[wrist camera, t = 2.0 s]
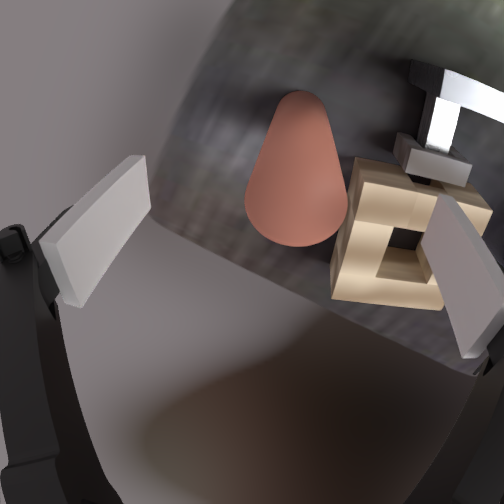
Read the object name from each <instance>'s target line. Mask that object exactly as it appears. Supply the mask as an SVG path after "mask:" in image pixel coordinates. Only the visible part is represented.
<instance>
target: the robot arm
mask: <svg viewBox="0 0 504 504" xmlns="http://www.w3.org/2000/svg"><path fill="white" fill-rule="evenodd" d="M150 209H151V204H150V196H149V188H148V179H147V170H146V160H145V155H130V156H128V157H127V158H126V159H125V160H124V161H122V162H121V163H120V164H119V165H118V166H117V167H116V168H114V169H113V170H112V171H111V172H110V173H108V174H107V175H106V176H105V177H104V178H103V179H102V180H101V181H99V182H98V183H97V184H96V185H95V186H94V187H93V188H92V189H91V190H89V191H88V192H87V193H86V194H85V195H84V196H83V197H82V198H81V199H80V200H79V201H78V202H77V203H75V205H72V206H71V207H69V208H67V209H66V210H64V211H63V212H62V213H61V214H60V215H59V216H58V217H57V218H56V220H54V221H53V222H52V223H51V224H50V225H49V226H48V227H47V228H46V229H45V230H44V231H43V232H42V233H41V234H40V235H39V236H38V237H37V238H36V239H35V241H33V242H32V244H30V241H29V239H28V236H27V233H26V231H25V228H24V226H23V225H21V224H15V225H11V226H8V227H6V228H4V229H2V230H1V231H0V413H1V419H2V427H3V432H4V438H5V444H6V449H7V454H8V460H9V462H8V466H7V467H5V468H4V469H3V470H2V471H1V475H0V479H1V487H2V491H3V494H4V498H5V501H6V504H123V502H122V500H121V498H120V497H119V495H118V494H117V492H116V491H115V490H114V488H113V487H112V486H111V484H110V483H109V482H108V480H107V478H106V476H105V474H104V472H103V469H102V467H101V464H100V462H99V460H98V457H97V454H96V452H95V449H94V446H93V444H92V441H91V438H90V435H89V433H88V429H87V426H86V423H85V420H84V417H83V414H82V411H81V408H80V404H79V401H78V398H77V394H76V390H75V387H74V383H73V379H72V375H71V371H70V367H69V363H68V358H67V353H66V349H65V344H64V339H63V334H62V328H61V322H60V317H59V310H58V305H57V303H56V301H55V298H56V296H57V295H58V294H59V292H60V294H61V296H62V298H63V300H64V302H65V304H68V305H72V306H75V307H79V308H82V307H83V305H84V304H85V302H86V300H87V299H88V297H89V296H90V294H91V293H92V291H93V290H94V288H95V287H96V285H97V284H98V282H99V280H100V279H101V277H102V276H103V275H104V273H105V271H106V270H107V269H108V267H109V266H110V264H111V262H112V261H113V260H114V258H115V257H116V255H117V254H118V253H119V251H120V250H121V248H122V246H124V244H125V242H126V241H127V240H128V238H129V237H130V236H131V234H132V233H133V231H134V230H135V229H136V227H137V226H138V225H139V224H140V222H141V221H142V219H143V218H144V217H145V215H146V214H147V213H148V212H149V210H150ZM421 246H422V248H423V250H424V253H425V255H426V257H427V260H428V262H429V264H430V267H431V269H432V272H433V274H434V277H435V279H436V282H437V285H438V287H439V290H440V293H441V295H442V298H443V301H444V304H445V306H446V309H447V312H448V315H449V318H450V321H451V324H452V327H453V330H454V333H455V337H456V340H457V343H458V347H459V350H460V353H461V357H462V358H478V357H479V356H480V354H481V353H482V352H483V351H484V350H485V349H486V347H487V349H488V352H489V356H488V357H487V358H486V359H485V360H484V362H483V363H482V364H481V365H480V366H479V367H478V368H477V369H476V370H475V372H474V373H473V375H476V374H477V373H478V372H479V375H478V377H477V379H476V382H475V384H474V386H473V388H472V390H471V393H470V395H469V397H468V399H467V401H466V403H465V405H464V407H463V409H462V411H461V413H460V415H459V417H458V419H457V421H456V423H455V425H454V426H453V428H452V430H451V432H450V434H449V435H448V437H447V439H446V440H445V442H444V444H443V446H442V447H441V449H440V451H439V452H438V454H437V456H436V457H435V459H434V460H433V462H432V463H431V465H430V466H429V468H428V470H427V471H426V473H425V474H424V475H423V477H422V478H421V480H420V481H419V483H418V484H417V485H416V487H415V488H414V490H413V491H412V492H411V494H410V495H409V496H408V498H407V499H406V500H405V502H404V503H403V504H499V502H500V504H504V268H503V267H502V266H501V265H500V264H499V263H498V262H497V261H496V259H495V258H494V257H493V255H492V254H491V252H490V250H489V249H488V247H487V246H486V244H485V242H484V241H483V239H482V238H481V236H480V235H479V233H478V232H477V230H476V229H475V227H474V226H473V224H472V223H471V221H470V220H469V218H468V217H467V216H466V214H465V213H464V211H463V210H462V209H461V207H460V206H459V204H458V203H457V202H456V200H455V199H454V198H453V197H452V196H448V195H444V194H439V195H438V198H437V201H436V204H435V207H434V209H433V212H432V215H431V218H430V220H429V223H428V225H427V228H426V231H425V233H424V236H423V238H422V241H421Z"/></svg>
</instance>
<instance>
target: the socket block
mask: <svg viewBox="0 0 504 504" xmlns="http://www.w3.org/2000/svg"><path fill="white" fill-rule="evenodd" d="M393 155H394V156H395V158H396V159H397V161H398V162H399V164H400V165H401V166H399V165H395V164H390V163H385V162H380V161H375V160H370V159H365V158H359V157H355V160H354V165H353V170H352V175H351V179H350V184H349V188H348V193H347V199H348V207H347V213H346V216H345V219H344V221H343V223H342V224H341V226H340V227H339V231H338V235H337V239H336V243H335V246H334V250H333V254H332V258H331V262H330V277H331V299H337V300H346V301H354V302H363V303H372V304H381V305H390V306H400V307H410V308H420V309H430V310H441V309H442V308H443V306H444V305H445V304H444V301H443V298H442V295H441V293H440V290H439V287H438V285H437V282H436V279H435V277H434V274H433V272H432V269H431V267H430V264H429V262H428V260H427V257H426V255H425V253H424V250H423V248H422V246H421V241H422V238H423V236H424V233H425V231H426V228H427V225H428V223H429V220H430V218H431V215H432V212H433V209H434V207H435V204H436V201H437V198H438V195H439V194H444V195H448V196H452V197H453V198H454V199H455V200H456V202H457V203H458V204H459V206H460V207H461V209H462V210H463V211H464V213H465V214H466V216H467V217H468V218H469V220H470V221H471V223H472V224H473V226H474V227H475V229H476V230H477V232H478V233H479V235H480V236H481V237H482V235H483V232H484V230H485V228H486V226H487V224H488V222H489V219H490V217H491V215H492V213H493V210H492V209H491V208H490V207H489V205H488V204H487V203H486V202H485V200H484V199H483V198H482V197H481V195H480V194H479V193H478V192H477V191H476V189H475V188H474V187H473V186H472V185H471V184H470V183H467V180H468V177H469V174H470V171H471V168H472V164H470V163H469V162H468V161H467V160H466V159H465V158H464V157H463V156H462V155H461V154H460V153H459V152H458V151H457V150H456V149H455V148H454V147H452V146H450V149H449V152H448V155H447V154H443V153H440V152H436V151H433V150H429V149H425V148H422V147H421V146H420V145H419V144H418V143H417V142H416V140H415V139H414V138H413V137H412V136H411V135H409V134H405V133H401V132H397V136H396V141H395V145H394V149H393ZM407 173H409V174H414V175H418V176H422V177H426V178H431V182H430V185H429V186H427V185H423V184H419V183H414V182H412V181H411V179H410V177H409V176H408V174H407ZM394 227H398V228H404V229H410V230H415V231H421V232H423V233H422V235H421V238H420V240H419V243H418V245H417V248H416V250H415V251H414V250H408V249H402V248H395V247H389V246H387V245H388V242H389V239H390V237H391V234H392V231H393V228H394Z"/></svg>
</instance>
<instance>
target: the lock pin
mask: <svg viewBox="0 0 504 504" xmlns="http://www.w3.org/2000/svg"><path fill="white" fill-rule="evenodd" d="M408 82H409V83H411V84H413V85H415V86H417V87H419V88H421V89H423V90H425V91H427V94H426V99H425V104H424V109H423V113H422V118H421V122H420V126H419V131H418V135H417V139H416V142H417V143H418V144H419V145H420V146H421V147H422V148H425V149H429V150H433V151H436V152H440V153H443V154H447V155H448V152H449V149H450V145H451V142H452V138H453V134H454V130H455V127H456V123H457V119H458V114H459V110H460V106H463V107H466V108H468V109H471V110H473V111H476V112H479V113H481V114H484V115H486V116H488V117H491V118H493V119H495V120H498V121H500V122H502V123H504V93H502V92H500V91H498V90H495V89H493V88H491V87H489V86H487V85H484V84H482V83H480V82H478V81H475V80H473V79H470V78H468V77H465V76H463V75H460V74H458V73H455V72H452V71H450V70H447V69H444V68H441V67H437V66H434V65H431V64H427V63H423V62H420V61H416V60H412V59H411V65H410V72H409V78H408Z"/></svg>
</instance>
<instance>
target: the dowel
mask: <svg viewBox="0 0 504 504" xmlns="http://www.w3.org/2000/svg"><path fill="white" fill-rule="evenodd" d="M347 207H348V199H347V193H346V189H345V184H344V180H343V175H342V171H341V167H340V163H339V159H338V155H337V151H336V147H335V143H334V139H333V135H332V132H331V128H330V124H329V121H328V117H327V114H326V110H325V107H324V105H323V103H322V101H321V100H320V99H319V98H318V97H317V96H315V95H314V94H312V93H310V92H307V91H294V92H291V93H289V94H287V95H285V96H284V97H283V98H282V99H281V100H280V102H279V104H278V106H277V109H276V111H275V114H274V116H273V119H272V122H271V124H270V127H269V129H268V132H267V135H266V137H265V140H264V143H263V145H262V148H261V150H260V153H259V156H258V158H257V161H256V164H255V166H254V169H253V172H252V174H251V177H250V180H249V183H248V185H247V188H246V192H245V209H246V212H247V215H248V218H249V220H250V221H251V223H252V224H253V226H254V227H255V228H256V229H257V230H258V231H259V232H260V233H261V234H262V235H264V236H265V237H266V238H268V239H270V240H272V241H274V242H276V243H279V244H282V245H287V246H295V247H301V246H309V245H313V244H316V243H319V242H322V241H324V240H326V239H327V238H329V237H330V236H331V235H333V234H334V233H335V232H336V231H337V230H338V229H339V227H340V226H341V224H342V223H343V221H344V219H345V216H346V213H347Z"/></svg>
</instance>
